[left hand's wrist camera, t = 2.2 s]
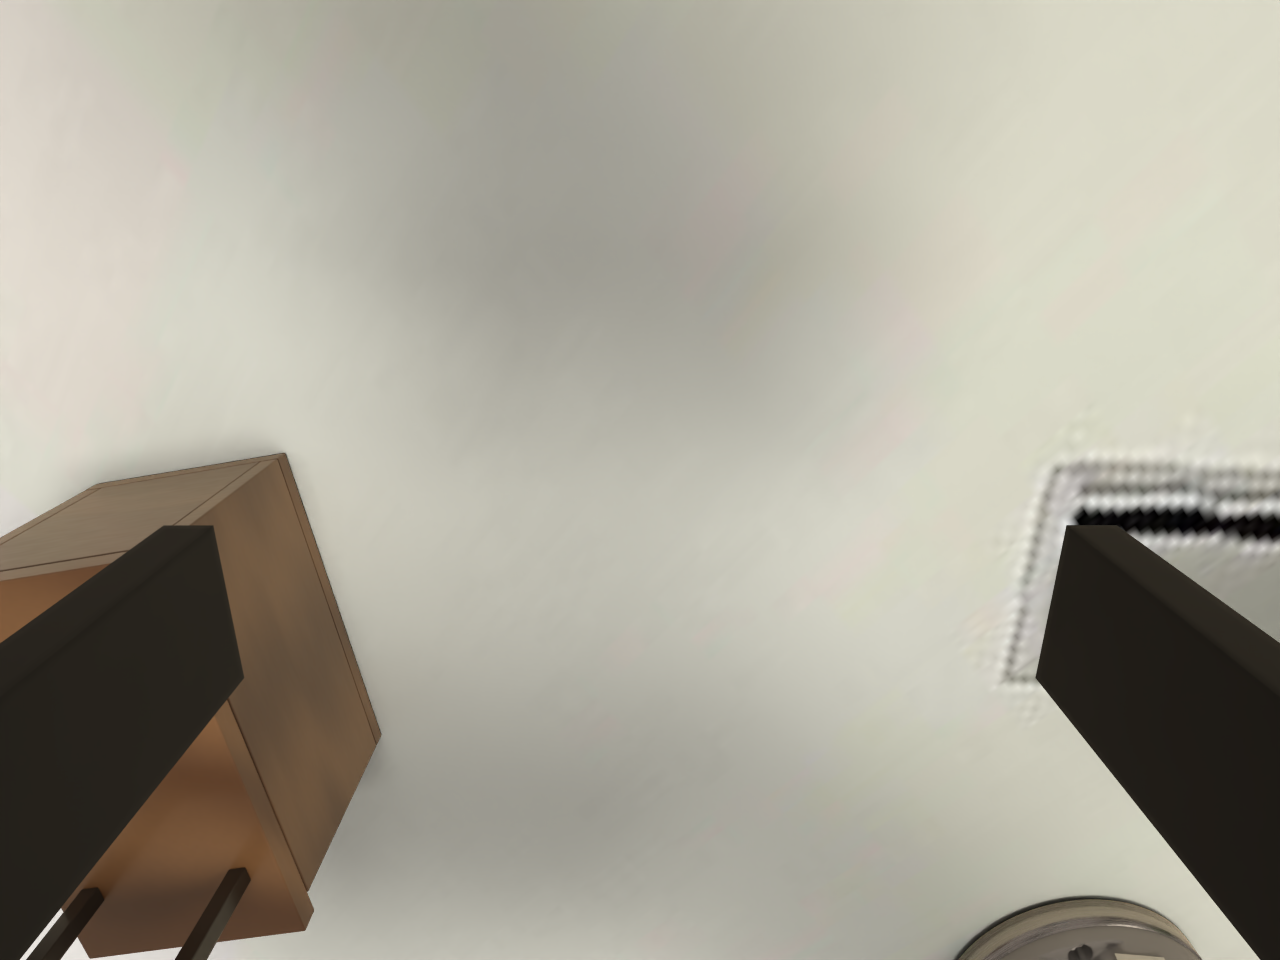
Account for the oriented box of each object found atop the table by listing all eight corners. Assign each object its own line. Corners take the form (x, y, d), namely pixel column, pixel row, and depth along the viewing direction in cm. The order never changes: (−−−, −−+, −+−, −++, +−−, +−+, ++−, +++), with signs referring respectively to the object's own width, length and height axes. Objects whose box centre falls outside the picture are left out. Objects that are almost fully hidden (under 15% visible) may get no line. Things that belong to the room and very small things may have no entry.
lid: (315, 909, 33) (221, 1118, 26) (104, 937, 33) (-47, 1150, 26) (163, 544, 27) (-13, 678, 20) (-88, 585, 28) (-351, 730, 20)
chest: (381, 735, 42) (308, 892, 33) (215, 759, 43) (96, 920, 33) (285, 452, 37) (164, 544, 27) (95, 484, 37) (-87, 584, 28)
